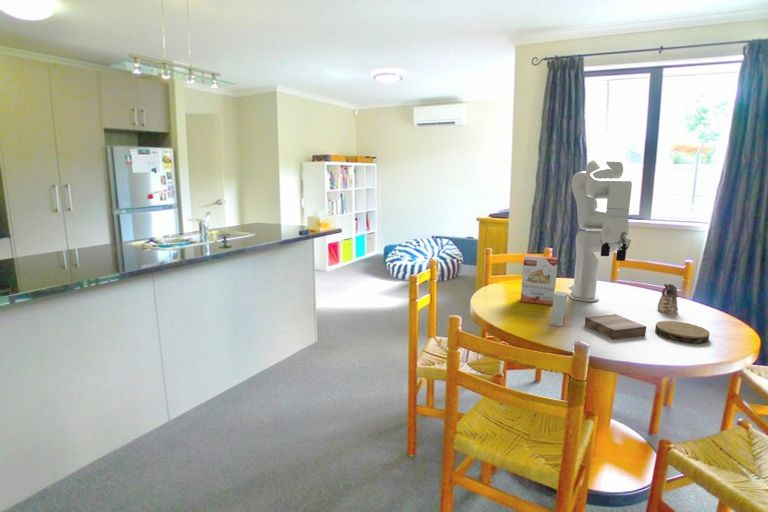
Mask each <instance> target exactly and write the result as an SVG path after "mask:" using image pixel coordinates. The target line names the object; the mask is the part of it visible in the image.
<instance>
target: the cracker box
mask: <svg viewBox="0 0 768 512" xmlns="http://www.w3.org/2000/svg"><path fill="white" fill-rule="evenodd" d="M558 261H559V260H558V257H555V256H554V257H553V256H543V255H531V254H529V255H528V254H525V255H524V257H523V265H522V267H523V269H522V277H521V278H522V279H521V290H520V291H521V292H520V302H522V303H529V304H537V305H544V304H545V306H552V305H553V296H554V294H555V293H556V283H557V282H556V281H557V270H558Z"/></svg>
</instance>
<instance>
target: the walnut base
mask: <svg viewBox="0 0 768 512" xmlns="http://www.w3.org/2000/svg"><path fill="white" fill-rule="evenodd" d="M584 319H585V320H584V327H585V326H586V327H585V328H587V327H588V329H590V330H592V331H594V330H595V331H594V332H596V331H597V332H596V333H598V332H599V333H598V334H600V333H601V334H600V335H602V334H603V335H602V336H604V335H605V336H604V337H606V336H607V337H606V338H608V337H609V338H608V339H610V338H611V340H613V341H614V340H615V339H616V340H623V338H624V339H630V338H631V339H632V337H633V338H638V337H639V338H641V337H646V331H647V326H646V325H644V324H640V323H639V322H637V321H633V320H631V319H629V318H626V317H623V316H622V315H619V314H616V313H615V314H605V315H594V316H593V315H592V316H586V317H584ZM640 336H641V337H640Z"/></svg>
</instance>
